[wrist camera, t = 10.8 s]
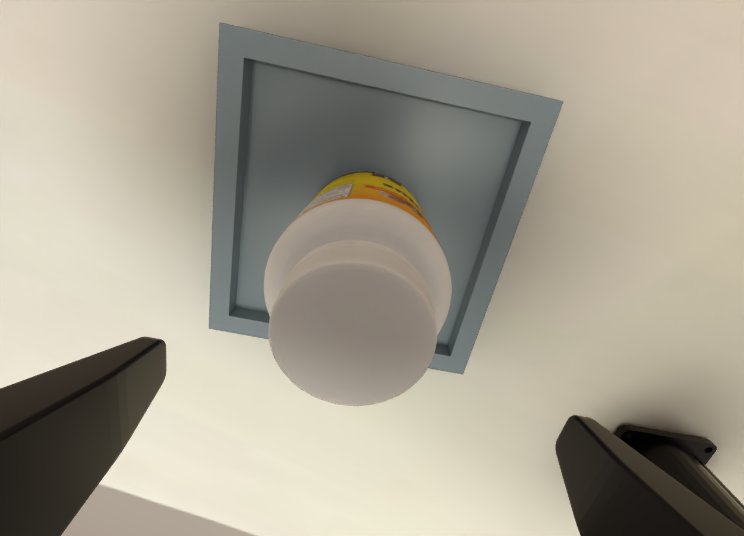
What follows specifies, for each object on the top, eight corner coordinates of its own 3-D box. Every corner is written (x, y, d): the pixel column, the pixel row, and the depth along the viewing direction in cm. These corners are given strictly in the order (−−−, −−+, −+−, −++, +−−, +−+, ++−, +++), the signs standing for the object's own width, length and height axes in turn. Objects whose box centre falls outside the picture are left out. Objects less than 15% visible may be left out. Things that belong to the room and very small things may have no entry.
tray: (544, 103, 16) (563, 101, 15) (456, 354, 21) (462, 374, 20) (236, 33, 15) (219, 22, 14) (222, 311, 21) (208, 328, 19)
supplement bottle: (440, 249, 18) (508, 386, 9) (344, 293, 19) (311, 460, 10) (391, 145, 16) (410, 175, 7) (288, 201, 17) (179, 294, 8)
